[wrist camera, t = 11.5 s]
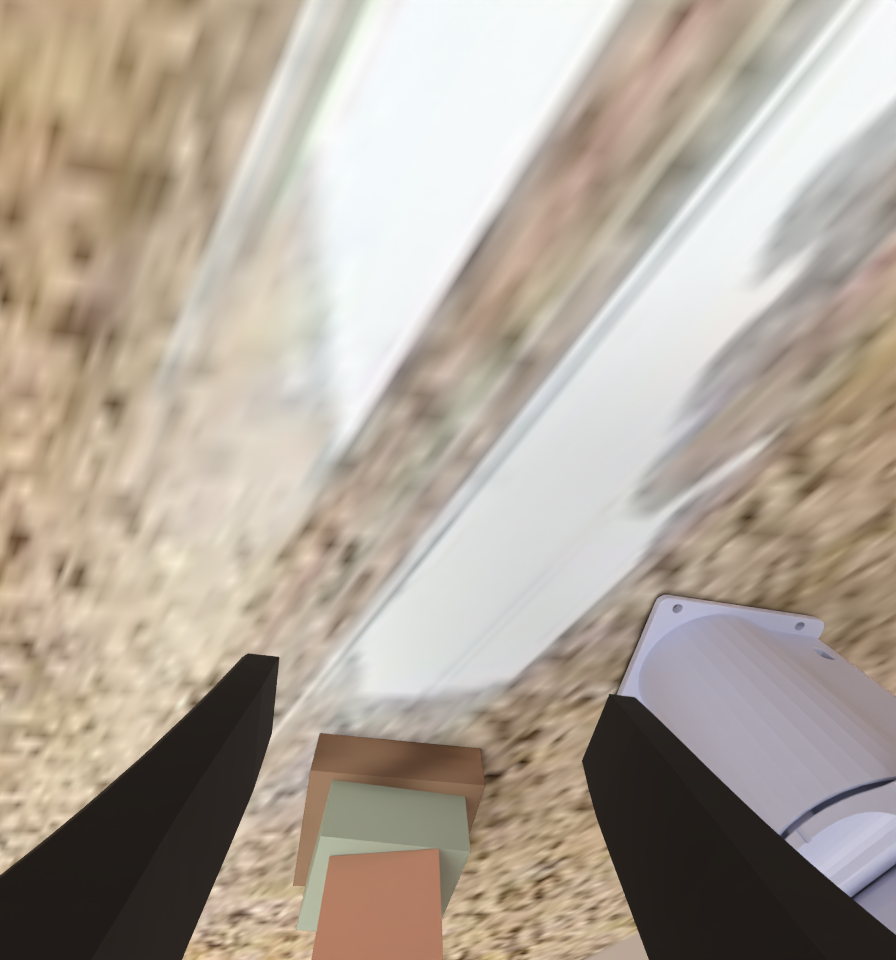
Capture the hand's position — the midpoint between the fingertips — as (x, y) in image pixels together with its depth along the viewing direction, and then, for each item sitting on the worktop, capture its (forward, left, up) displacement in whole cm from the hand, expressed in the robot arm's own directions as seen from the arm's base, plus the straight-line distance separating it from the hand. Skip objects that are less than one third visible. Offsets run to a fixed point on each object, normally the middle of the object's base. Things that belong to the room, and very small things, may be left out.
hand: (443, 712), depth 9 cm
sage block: (-1, +18, -8) cm, 20 cm away
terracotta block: (-1, +17, -6) cm, 18 cm away
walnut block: (-1, +18, -11) cm, 21 cm away
